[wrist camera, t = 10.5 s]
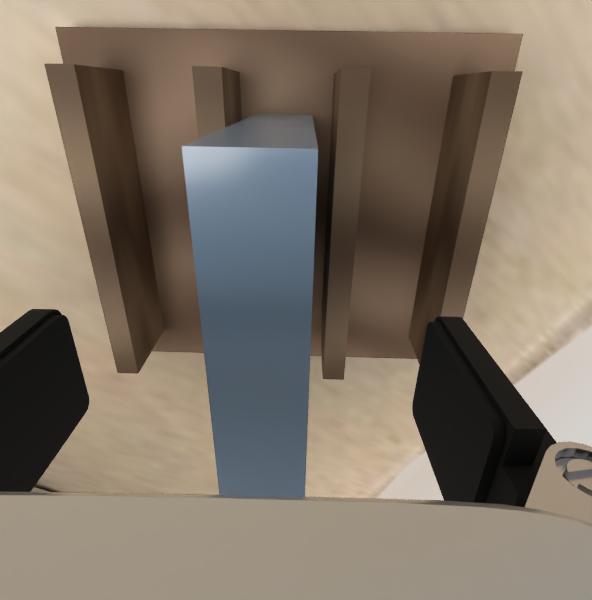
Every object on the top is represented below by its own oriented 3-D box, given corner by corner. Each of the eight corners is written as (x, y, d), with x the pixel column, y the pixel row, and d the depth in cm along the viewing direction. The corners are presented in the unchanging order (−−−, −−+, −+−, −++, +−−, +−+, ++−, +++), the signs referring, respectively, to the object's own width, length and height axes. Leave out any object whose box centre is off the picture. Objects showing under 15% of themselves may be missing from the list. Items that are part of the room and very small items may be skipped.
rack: (441, 348, 24) (472, 407, 20) (133, 339, 25) (93, 395, 20) (509, 37, 17) (583, 17, 13) (70, 31, 17) (-15, 8, 13)
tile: (306, 312, 22) (303, 514, 12) (263, 311, 22) (221, 512, 12) (312, 114, 18) (318, 148, 7) (258, 113, 18) (181, 146, 7)
